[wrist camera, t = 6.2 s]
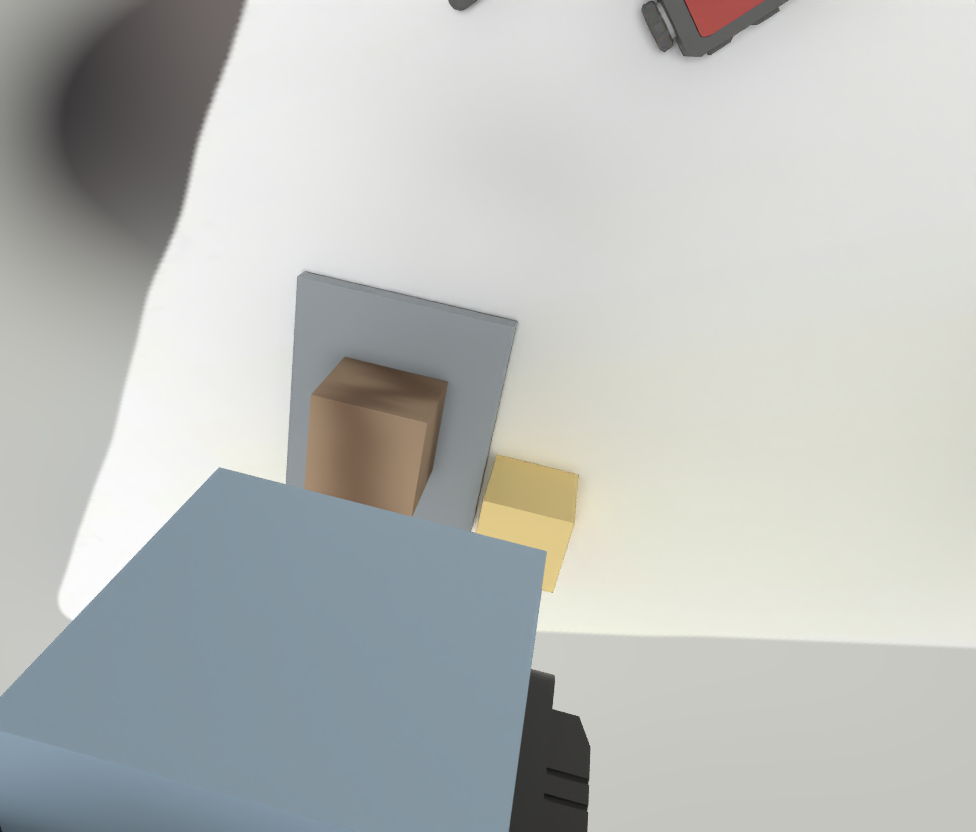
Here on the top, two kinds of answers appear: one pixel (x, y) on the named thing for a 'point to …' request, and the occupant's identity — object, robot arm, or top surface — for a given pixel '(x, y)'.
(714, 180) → the top surface
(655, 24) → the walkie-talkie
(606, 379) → the top surface
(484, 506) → the ochre brick
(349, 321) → the slate board
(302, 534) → the blue brick
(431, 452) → the walnut brick
